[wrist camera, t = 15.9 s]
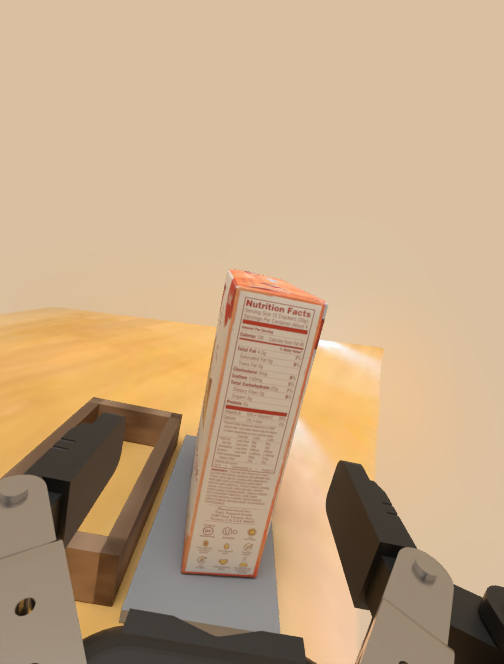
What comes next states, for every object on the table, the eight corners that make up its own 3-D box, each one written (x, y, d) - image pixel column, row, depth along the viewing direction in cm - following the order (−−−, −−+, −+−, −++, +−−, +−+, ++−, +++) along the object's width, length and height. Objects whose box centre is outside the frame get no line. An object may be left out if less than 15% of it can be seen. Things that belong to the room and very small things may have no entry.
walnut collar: (-55, 579, 20) (-55, 526, 19) (89, 427, 38) (93, 397, 37) (111, 606, 21) (119, 556, 20) (176, 444, 38) (182, 414, 38)
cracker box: (189, 454, 36) (226, 266, 31) (242, 460, 37) (285, 279, 32) (172, 577, 22) (233, 277, 18) (257, 583, 23) (335, 299, 18)
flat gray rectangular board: (119, 622, 20) (121, 609, 20) (184, 442, 39) (186, 434, 39) (276, 647, 20) (280, 636, 20) (264, 457, 40) (266, 450, 40)
